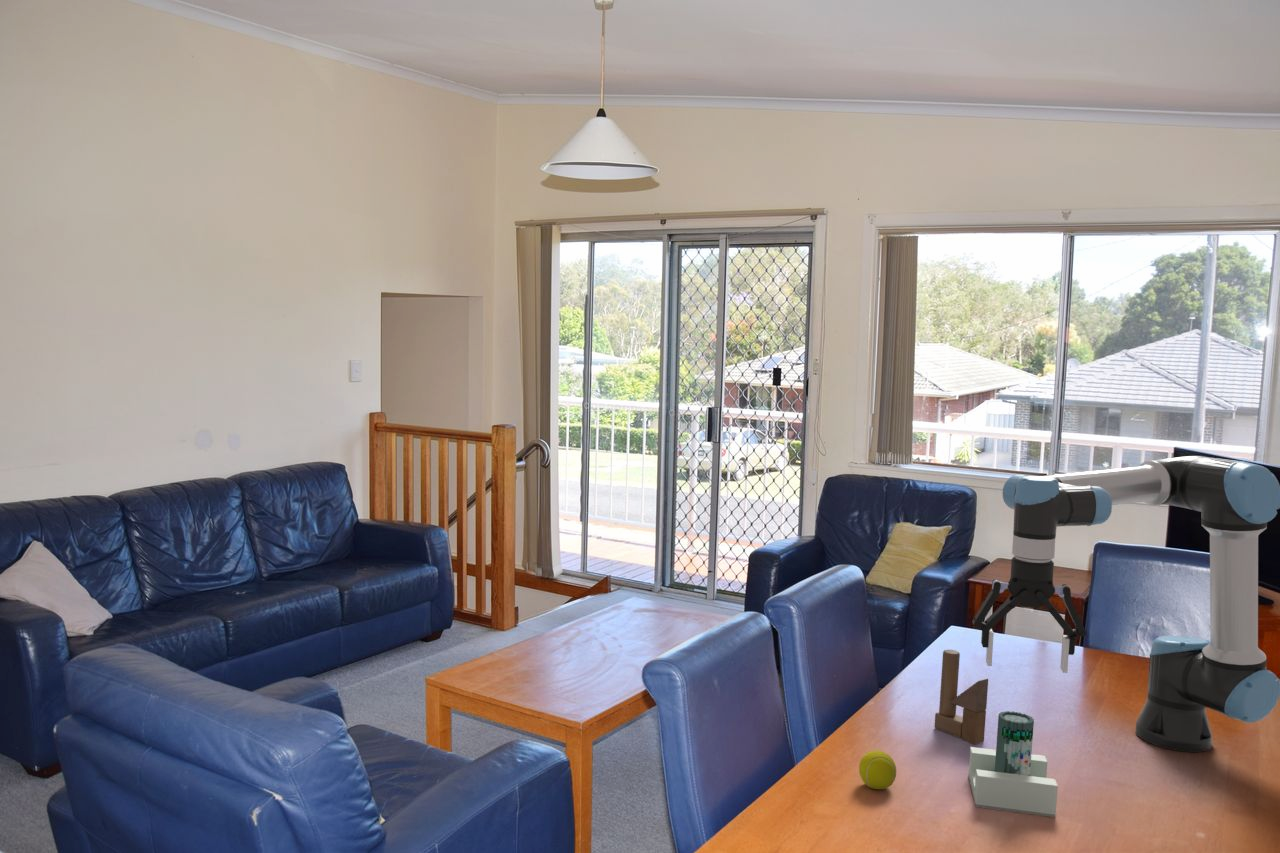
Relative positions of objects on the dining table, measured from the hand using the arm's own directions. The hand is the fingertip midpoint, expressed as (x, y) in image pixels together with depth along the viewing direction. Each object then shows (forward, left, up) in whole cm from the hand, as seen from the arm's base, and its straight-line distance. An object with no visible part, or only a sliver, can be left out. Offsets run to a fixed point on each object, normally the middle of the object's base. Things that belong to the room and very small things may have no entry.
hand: (1026, 667), depth 193 cm
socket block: (+2, +2, -25) cm, 25 cm away
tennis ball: (+27, +6, -25) cm, 37 cm away
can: (+1, +2, -24) cm, 25 cm away
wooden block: (+9, -27, -25) cm, 38 cm away
